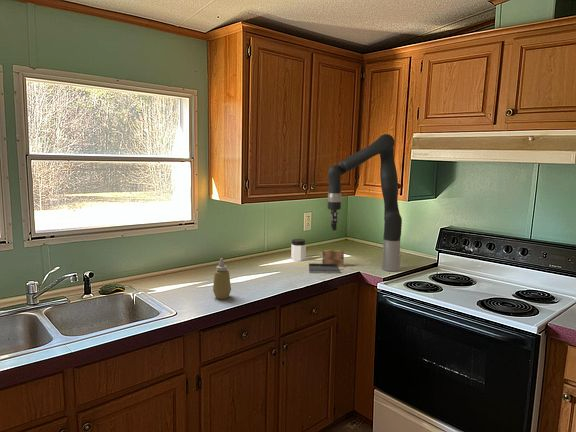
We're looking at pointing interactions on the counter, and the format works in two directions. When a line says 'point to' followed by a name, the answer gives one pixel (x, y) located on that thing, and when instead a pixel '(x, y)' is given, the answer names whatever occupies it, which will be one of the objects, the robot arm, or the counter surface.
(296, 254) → the jar
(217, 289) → the squeeze bottle
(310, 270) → the floor track
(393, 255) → the robot arm
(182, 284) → the counter surface
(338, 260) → the door panel
